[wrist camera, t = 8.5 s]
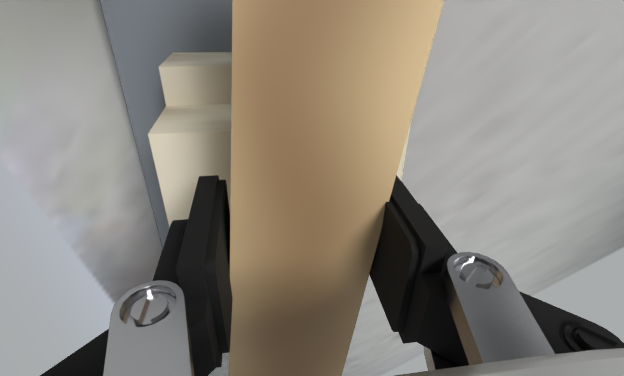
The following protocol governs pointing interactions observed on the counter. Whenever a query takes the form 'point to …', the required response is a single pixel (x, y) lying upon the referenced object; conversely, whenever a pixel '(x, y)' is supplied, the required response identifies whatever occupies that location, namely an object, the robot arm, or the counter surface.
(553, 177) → the counter surface
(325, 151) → the oak bar
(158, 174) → the stepped block
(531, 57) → the counter surface
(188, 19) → the slate board
